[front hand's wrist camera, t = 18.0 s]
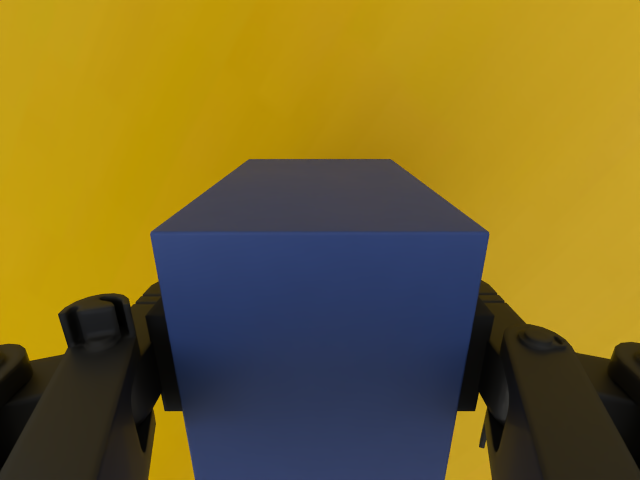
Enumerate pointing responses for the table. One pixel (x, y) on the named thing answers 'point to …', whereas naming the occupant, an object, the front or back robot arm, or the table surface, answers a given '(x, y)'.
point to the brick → (319, 320)
